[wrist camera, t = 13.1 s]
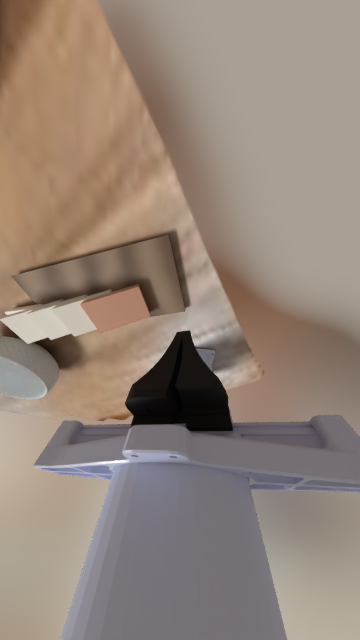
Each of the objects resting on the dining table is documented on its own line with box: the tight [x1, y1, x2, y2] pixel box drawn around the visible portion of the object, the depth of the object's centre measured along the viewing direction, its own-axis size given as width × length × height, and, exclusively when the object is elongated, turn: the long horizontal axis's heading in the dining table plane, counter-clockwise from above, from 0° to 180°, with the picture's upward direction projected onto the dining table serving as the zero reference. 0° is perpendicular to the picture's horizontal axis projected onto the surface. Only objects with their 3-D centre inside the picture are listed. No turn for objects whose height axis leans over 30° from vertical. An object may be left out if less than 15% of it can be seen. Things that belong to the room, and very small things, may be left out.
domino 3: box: [26, 294, 87, 340], centre depth 21 cm, size 2×5×8 cm
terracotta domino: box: [80, 284, 150, 333], centre depth 20 cm, size 2×5×8 cm
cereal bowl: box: [0, 336, 59, 399], centre depth 29 cm, size 17×17×7 cm
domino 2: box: [0, 299, 64, 344], centre depth 22 cm, size 2×5×8 cm
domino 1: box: [4, 304, 43, 315], centre depth 24 cm, size 2×5×8 cm
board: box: [11, 235, 185, 317], centre depth 21 cm, size 26×11×1 cm, turn 102°
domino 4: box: [51, 289, 113, 337], centre depth 20 cm, size 2×5×8 cm
